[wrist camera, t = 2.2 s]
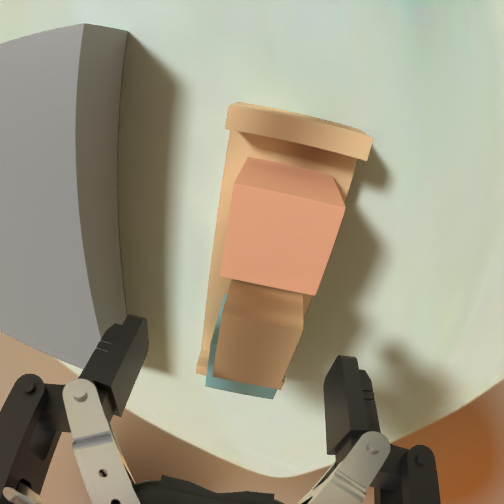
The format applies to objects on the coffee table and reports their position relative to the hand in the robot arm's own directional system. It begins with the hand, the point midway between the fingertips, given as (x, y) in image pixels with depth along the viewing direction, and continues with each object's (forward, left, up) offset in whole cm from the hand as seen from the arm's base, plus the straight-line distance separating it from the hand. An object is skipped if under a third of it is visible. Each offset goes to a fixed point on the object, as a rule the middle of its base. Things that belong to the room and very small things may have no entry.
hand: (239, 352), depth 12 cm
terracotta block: (-1, -4, -6) cm, 7 cm away
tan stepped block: (-1, 0, -7) cm, 7 cm away
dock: (+15, -1, -7) cm, 16 cm away
